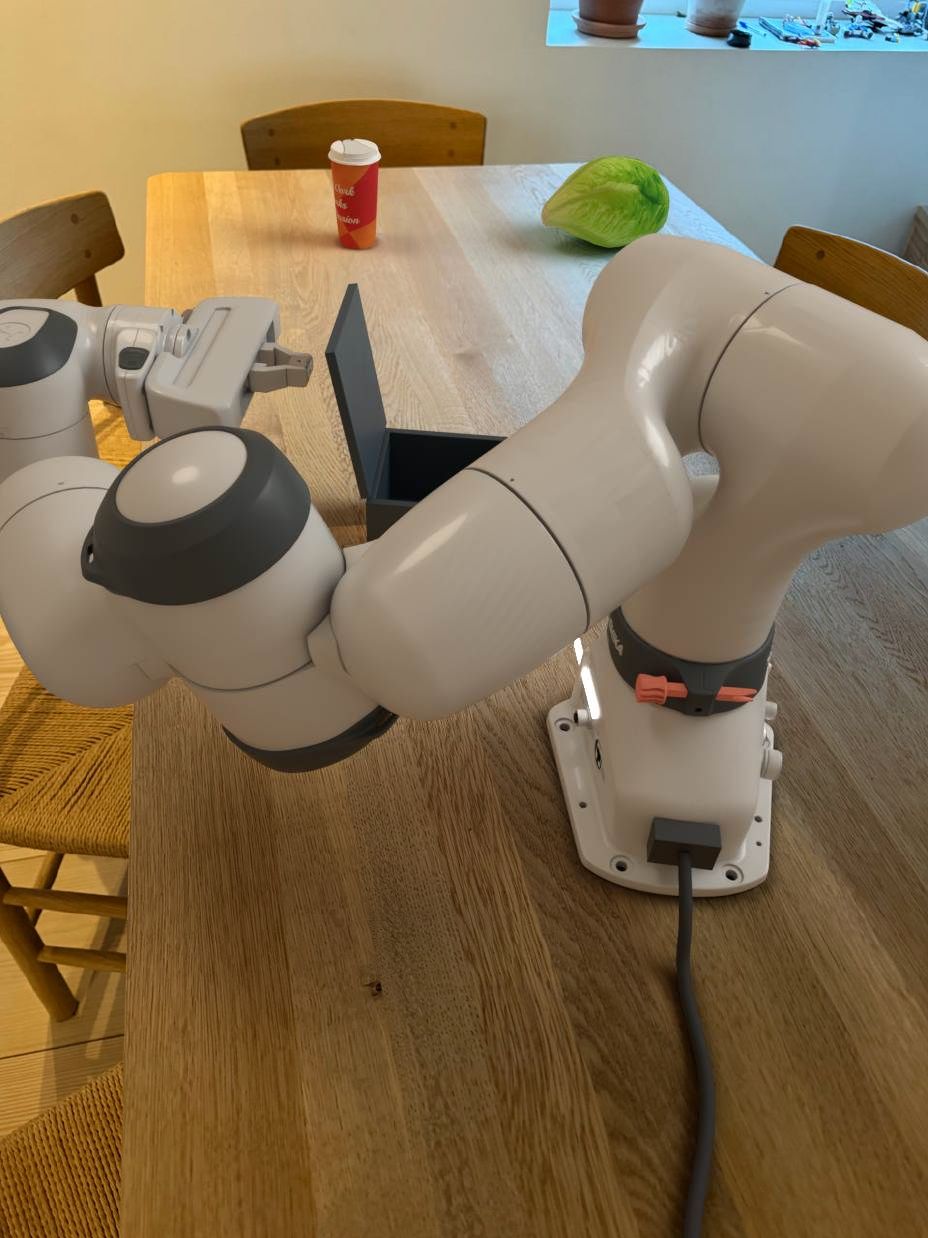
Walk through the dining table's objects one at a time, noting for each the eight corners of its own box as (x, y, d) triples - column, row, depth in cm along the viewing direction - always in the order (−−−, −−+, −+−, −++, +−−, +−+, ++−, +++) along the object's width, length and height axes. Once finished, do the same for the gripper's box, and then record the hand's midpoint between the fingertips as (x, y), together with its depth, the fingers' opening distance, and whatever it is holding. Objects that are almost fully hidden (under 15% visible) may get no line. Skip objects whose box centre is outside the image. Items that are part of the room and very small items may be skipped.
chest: (511, 507, 101) (518, 437, 95) (507, 587, 92) (515, 514, 86) (383, 498, 102) (382, 427, 95) (367, 576, 93) (365, 503, 86)
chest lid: (357, 282, 85) (348, 283, 85) (334, 351, 76) (324, 352, 76) (386, 422, 95) (378, 423, 95) (369, 498, 86) (360, 499, 86)
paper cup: (325, 235, 150) (320, 139, 140) (371, 229, 152) (369, 135, 142) (342, 255, 145) (338, 157, 135) (389, 248, 147) (389, 152, 137)
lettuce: (528, 226, 156) (536, 137, 147) (646, 223, 159) (661, 136, 150) (550, 266, 145) (560, 173, 136) (676, 263, 148) (694, 171, 139)
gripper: (193, 335, 95) (331, 346, 94) (126, 452, 80) (290, 465, 80) (183, 273, 90) (328, 284, 90) (110, 385, 76) (283, 399, 75)
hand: (310, 370), depth 85 cm, fingers closed
